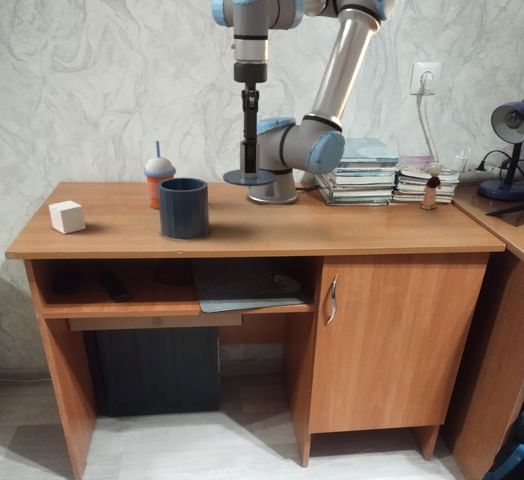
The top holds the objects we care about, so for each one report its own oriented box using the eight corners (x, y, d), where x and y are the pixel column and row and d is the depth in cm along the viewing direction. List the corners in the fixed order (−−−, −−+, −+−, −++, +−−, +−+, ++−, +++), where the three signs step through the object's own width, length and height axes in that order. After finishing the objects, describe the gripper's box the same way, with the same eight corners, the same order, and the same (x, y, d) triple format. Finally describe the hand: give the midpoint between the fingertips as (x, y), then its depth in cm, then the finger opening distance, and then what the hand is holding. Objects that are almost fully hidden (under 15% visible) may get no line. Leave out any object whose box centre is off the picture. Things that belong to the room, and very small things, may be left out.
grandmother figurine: (427, 203, 161) (436, 161, 154) (439, 206, 159) (448, 163, 152) (415, 208, 156) (424, 165, 149) (427, 212, 154) (436, 168, 147)
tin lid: (273, 173, 135) (274, 136, 130) (278, 188, 124) (280, 148, 119) (222, 173, 134) (222, 136, 129) (223, 188, 123) (222, 148, 118)
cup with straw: (171, 212, 148) (167, 145, 138) (141, 209, 149) (135, 143, 140) (182, 202, 155) (178, 139, 146) (153, 200, 157) (148, 136, 147)
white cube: (74, 222, 139) (70, 200, 136) (85, 228, 136) (82, 205, 132) (52, 227, 135) (48, 205, 132) (64, 234, 132) (60, 210, 129)
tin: (209, 224, 141) (207, 177, 134) (208, 241, 130) (207, 191, 123) (163, 224, 140) (160, 177, 133) (159, 241, 129) (155, 191, 123)
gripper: (232, 58, 122) (233, 160, 135) (234, 65, 107) (235, 180, 120) (264, 58, 122) (262, 160, 135) (270, 66, 107) (267, 180, 120)
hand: (249, 169), depth 127 cm, fingers closed on tin lid, 5 cm apart
